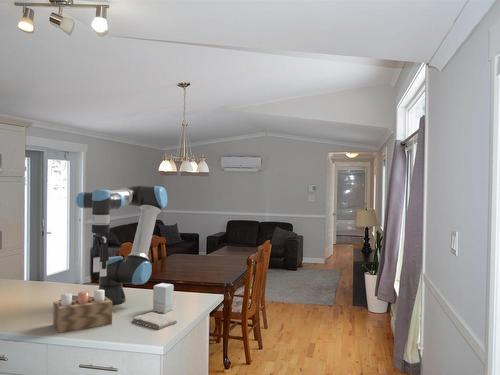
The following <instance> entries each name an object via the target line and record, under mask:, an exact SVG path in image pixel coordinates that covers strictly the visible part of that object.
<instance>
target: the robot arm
mask: <svg viewBox="0 0 500 375" xmlns="http://www.w3.org/2000/svg"><path fill="white" fill-rule="evenodd" d="M75 203H76V206H77V207H79V208H82V209H92V210H91V217H90V219H91V224H92V225H91V233H92V234H93V236H92V237H93V238H92V239H93V240H92V249H91V256H92V259H93V261H92V262H93V264H92V272H93V273H99V274H98V277H99V278H98V280H99V282H98V289H97V290H105V294H104V296H105V297H107V298H108V299H109V300H111V301H112V306H115V305H121V304H123V303H126V293H125V290H124V288H123V284H128V285H129V284H131V285H144V284H145V283H147V282H148V281H149V279H150V278H151V275H152V273H153V272H152V267H153V266H152V263H151V262H150V258H149V257H148V256H149V250H150V247H151V243H152V239H153V233H154V230H155V225H156V220H157V218H158V215H159V214H160V213H161V211H162V209H164V208H166V207H167V205H168V193H167V190H166V188H165V187H163V186H158V185H133V186H126V187H121V188H119V189H115V190H110V189H97V188H95V189H93V191H91V192H87V191H82V192H78V194H76V197H75ZM124 206H131V207H132V206H133V207H139V209H140V210H141V211H140V215H139V219H138V224H137V226H136V232H135V235H134V239H133V243H132V248H131V252H130V253H129V254H127V256H126V258H125V259H124V257H123V256H121V255H119V256H116V255H115V256H109V239H108V237H106V234H108V233H110V218H111V217H110V216H111V213H110V212H111V210H120V209H122V208H124Z"/></svg>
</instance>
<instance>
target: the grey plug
mask: <svg viewBox="0 0 500 375" xmlns="http://www.w3.org/2000/svg"><path fill="white" fill-rule="evenodd" d="M72 300H73V294H72V293H67V292H66V293H62V294H61V295H60V301H61V306H68V305H72Z"/></svg>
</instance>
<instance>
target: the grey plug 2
mask: <svg viewBox="0 0 500 375" xmlns="http://www.w3.org/2000/svg"><path fill="white" fill-rule="evenodd" d="M104 294H105V290H98V289H96V290H94V291H93V297H94V302H98V301H104Z"/></svg>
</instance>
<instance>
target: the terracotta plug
mask: <svg viewBox="0 0 500 375" xmlns="http://www.w3.org/2000/svg"><path fill="white" fill-rule="evenodd" d="M89 295H90V294H89V291H86V290H85V291H84V290H83V291H79V292H78V293H77V299H78V304H83V303H88V300H89V297H90V296H89Z"/></svg>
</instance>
